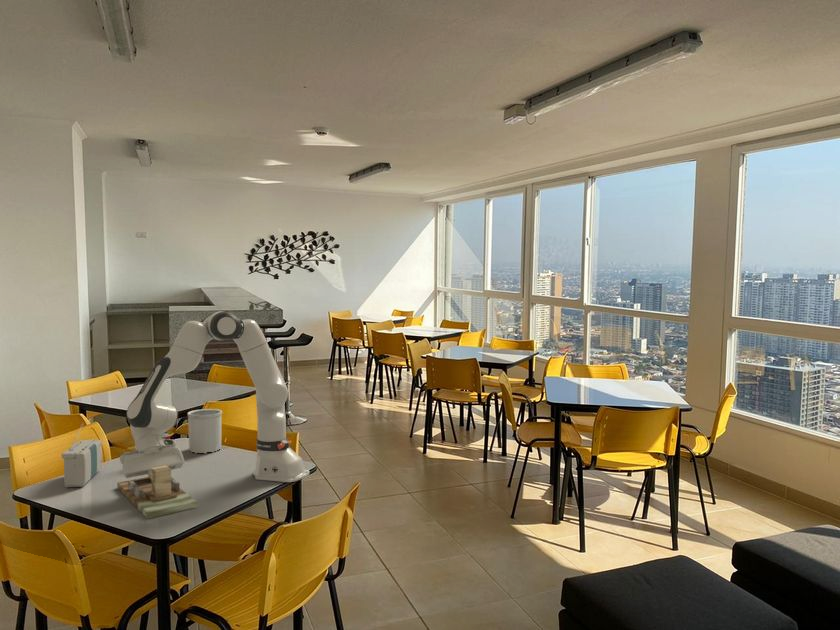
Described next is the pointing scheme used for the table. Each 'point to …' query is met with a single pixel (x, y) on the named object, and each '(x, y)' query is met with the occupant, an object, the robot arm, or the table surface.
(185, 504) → the track
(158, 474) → the wood block
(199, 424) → the utensil holder
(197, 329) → the robot arm
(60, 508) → the table surface
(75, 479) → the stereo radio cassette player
